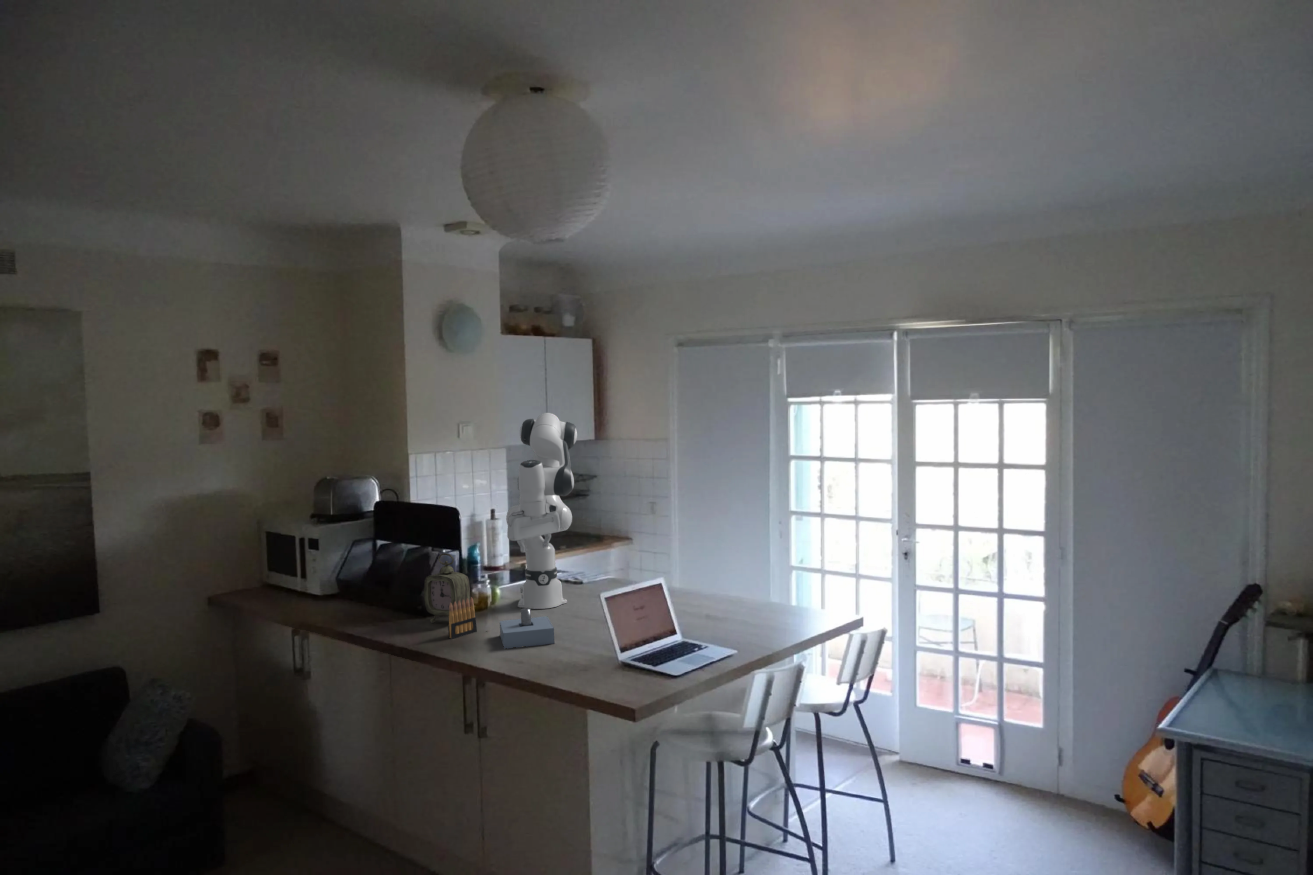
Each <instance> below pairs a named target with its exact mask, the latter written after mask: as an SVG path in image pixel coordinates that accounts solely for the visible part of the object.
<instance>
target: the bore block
mask: <svg viewBox="0 0 1313 875" xmlns="http://www.w3.org/2000/svg"><path fill="white" fill-rule="evenodd" d="M499 636H500V640H501V642H502V646H504V647H503V649H504V650H505V648H507V649H514V648H513V647H516V648H523V647H522V646H526V647H532V646H542V645H543V646H544V645H552V644H553V645H554V644H555V627H554V625H553V623H552V622H551V620H550V619H549V617H548V616H546V615H545V616H537V617H535V616H534V617H531V626H523V627H521V618H516V619H506V620H505V619H504V620H499Z"/></svg>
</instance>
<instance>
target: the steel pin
mask: <svg viewBox="0 0 1313 875" xmlns="http://www.w3.org/2000/svg"><path fill="white" fill-rule="evenodd" d="M531 610H532V609H530V608H520V619H521V627H523V626H531V618H532V612H531Z"/></svg>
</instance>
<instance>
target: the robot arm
mask: <svg viewBox="0 0 1313 875" xmlns="http://www.w3.org/2000/svg"><path fill="white" fill-rule="evenodd" d="M577 431H578V430H577V427H576V425H575V423H572V422H569V421H561V420H560V419H559V418H558V416H557V415H555V414H554V413H552V412H543V413H541V414H540V415H539V416H538V417H537V418H536V419H534V418H527V419H525V420H523V421H522V423H521V426H520V428H519V437H520V441H521V442H522V444H523V445H525V446H528V447H530V449H531V451H532V452H534V455H533V457H532V459H530V460H529V459H528V460H524V461H522V462H521V463H519V466H518V477H517V489H518V491H519V498H518V499H519V502H518V503H519V504H516V505H512V506H510V508H509V509H508V511H507V513H506V518H505V519H506V524H507V530H506V531H507V533H506V534H507V539H508V540H509V541H512V542H513V541H514V542H517V544H518V546H519V547H520V549H519V550H520V553H525V562H526V563H525V564H526V569H525V573H524V574H525V579H526V580H525V582H524V583H523V584H522V586H520V592H519V593H520V594H521V597H520V598H519V601H518V603H517V607H518V608H521V609H523V608H530V609H531V610H532V609H533V610H544V609H550V608H555V607H559V606H561V605H563V604H567V603H568V600H567V599H566V598H564V597H563V586H562V582H561V580H559V578H558V568H557V567H556V549H555V547H554V545H553V544H552V543H551V542H550V541H551V539H552V534H554V533H555V534H556V533H559V532H563V531H568V529H569V528H570V527H571V525H572V523H573V515H572V511H571V509H570V507H568V506H567V505H566V503H564V502H563V500H562V499H561V497H566V496H568V495H569V494H571V492H572V491H573V489H574V486H575V478H574V474H573V472H572V467H571V458H570V452H569V451H570V450H571V449H572V448H573V447H574V446H575V444H576V443H577V439H578V432H577ZM560 496H561V497H560ZM543 536H544V538H543Z"/></svg>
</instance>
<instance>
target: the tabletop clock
mask: <svg viewBox="0 0 1313 875" xmlns="http://www.w3.org/2000/svg"><path fill="white" fill-rule="evenodd" d="M442 556H449V557H450V558H451V562H448V560H445V561H444V562H442V561H441V560H440V559H441V557H442ZM437 560H438V561H439V563H440V564H442V565H443V566H442V567H440V569H439V572H438V573H434V574H431V575H428V576H426V577H425V578H424V583H423V598H424V605H425V609H426V612H427V613H429V614H430V615H433V616H434V617H431V618H430V622H431V623H432V624H433V623H435V622H436V618H437V616H439V617H449V606H450V603H452V606H453V607H454V602H456V605H457V612H458V601H460V603H461V609H462V601H463V599H464V601H465V608H466V600H467V598H468V600H469V605H470V600H471V587H470V580H469V577H468V575H466V574H464V573H461V572H457V571H454V570H455V569H454V568H453V567H452V566H451V565H452V564H454V561H455V560H454V556H453V555H451V554H450V553H448V552H447V553H441V554H440V555H438V559H437ZM453 610H454V609H453Z"/></svg>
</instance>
